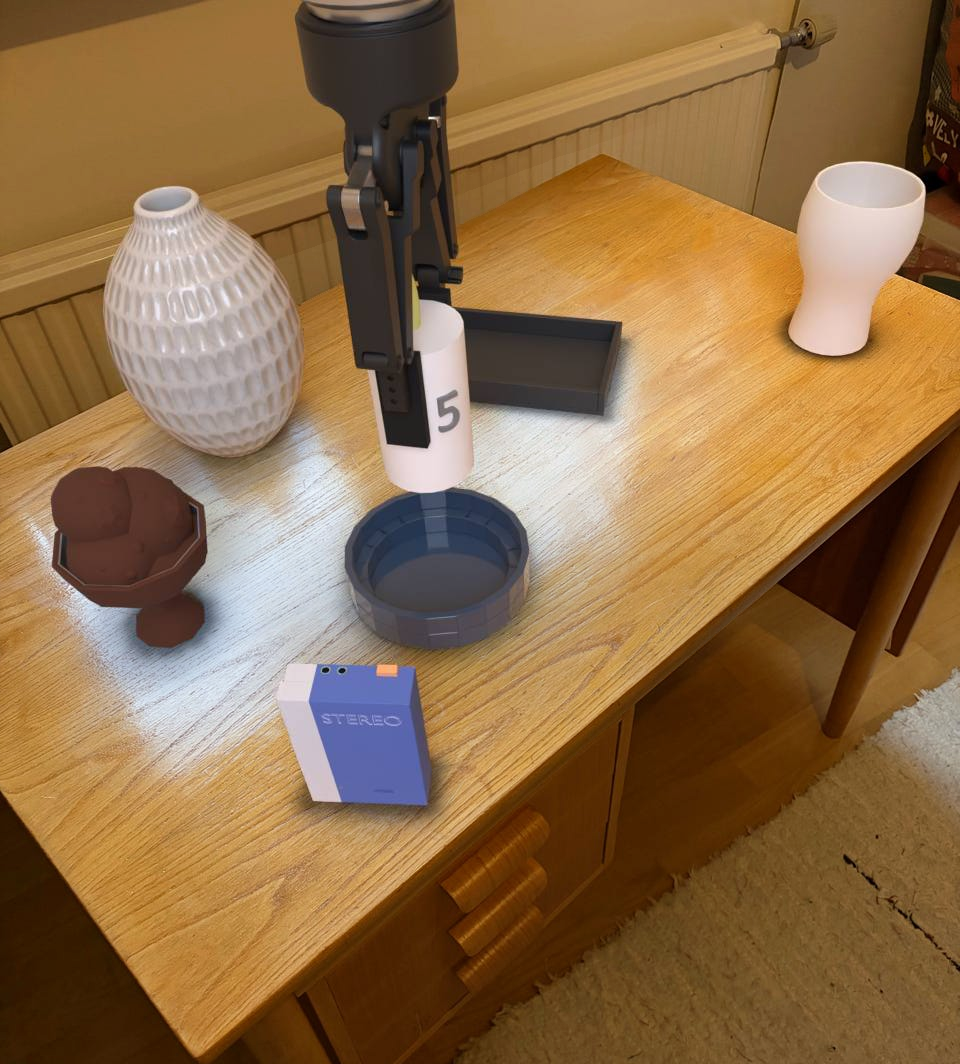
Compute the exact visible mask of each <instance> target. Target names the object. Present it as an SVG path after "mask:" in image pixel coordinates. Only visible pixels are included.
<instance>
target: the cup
mask: <svg viewBox="0 0 960 1064" xmlns="http://www.w3.org/2000/svg"><path fill="white" fill-rule="evenodd" d="M926 193H927V191H926V186H925V184H924V182H923V181H922V179H921V178H920V177H918V176H917V175H916V174H914V173H913V172H911V171H909V170H906V169H904V168H903V167H899V166H896V165H892V164H890V163H889V164H888V163H883V162H877V161H846V162H842V163H836V164H833V165H831V166H828V167H825V168H824V169H823V170H821V171H819V172H818V173H817V175H816V176H815V177H814V180H813V182H812V183H811V186H810V187H809V190H808V192H807V194H806V196H805V198H804V201H803V202H802V204H801V209H800V213H799V218H798V222H797V228H796V242H797V256H798V260H799V263H800V266H801V270H802V274H803V279H802V280H803V283H802V290H801V297H800V300H799V301H798V303H797V306H796V308H795V311H794V313H793V314H792V317H791V320H790V323H789V325H788V329H787V330H788V332H787V333H788V336H789V338H790V340H792V342H793V343H794V345H797V346H798V347H800V348H801V349H803V350H805V351H808V352H810V353H814V354H817V355H818V354H819V355H822V356H832V357H833V356H836V357H837V356H845V355H850V354H853V353H855V352H858V351H860V350H861V349H862V348H864V347H865V346H866V343H867V342H868V338H869V332H870V327H871V318H872V309H873V306H874V304H875V303H876V302H875V301H876V300H877V298H878V295H879V294H880V291H881V289H882V288H883V287H884V285H885V284H886V283H887V282H888V281H890V279H891V278H892V277H894V275H895V274H896V273H897V272H898V271H899V270H900V269H901V267H902V265H903V264H904V262H905V261H906V259H907V258H908V257H909V255H910V253H911V252H912V250H913V249H914V248H915V247H914V246H915V245H916V243H917V240H918V237H919V235H920V231H921V228H922V225H923V223H924V214H925V206H926V205H925V204H926Z"/></svg>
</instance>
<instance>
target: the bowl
mask: <svg viewBox="0 0 960 1064" xmlns="http://www.w3.org/2000/svg"><path fill="white" fill-rule="evenodd" d="M530 551H531V549H530V544H529V538H528V532H527V530H526V528H525V526H524V525H523V522H521V520H520V519H519V517H518V516H517V514H516V513H515V511H513V510H512V509H510V508H509V507H508V506H507V505H505V504H504V503H502V501H500V500H499V499H498V498H496V497H493V496H489V495H487V494H485V493H481V492H480V491H476V490H474V489H469V488H461V487H455V486H453V487H451V488H449V489H446V490H443V491H438V492H433V493H418V492H411V491H407V492H404V493H400V494H398V495H394V496H391V497H390V498H388V499H387V500H385V501H383V502H381V503H380V504H378V505H376V506H375V507H373V508H371V509H370V510H369V511H368V512H367V513H366V514H365V515H363V517H362V518H361V519H360V520H359V521H358V522H357V523H356V524H355V525H354V526H353V528H352V530H351V533H350V535H349V537H348V539H347V541H346V543H345V546H344V560H343V561H344V564H343V565H344V566H343V567H344V571H345V576H346V581H347V584H348V588H349V589H348V590H349V593H350V597H351V600H352V603H353V605H354V607H355V610H356V612H357V614H358V616H359V618H360V619H361V620H362V621H363V622H364V623H365V624H366V625H367V626H368V627H370V629H372V631H374V632H375V633H376V634H377V635H378V636H379V637H380V636H381V637H383V638H384V639H387V640H389V641H391V642H393V643H396V644H398V645H400V646H403V647H409V648H416V649H422V650H428V651H429V650H431V651H433V650H444V649H453V648H462V647H466V646H468V645H470V644H471V645H472V644H473V643H476V642H479V641H482V640H484V639H488V638H489V637H490V636H492V635H493V634H495V633H496V632H498V631H499V630H501V629H502V628H503V627H505V626H506V625H508V624H509V623H510V622H511V621H512V620H513V618H514V617H515V616H516V614H517V613H518V612H519V610H520V609H521V608H522V606H523V605H524V604H525V601H526V598H527V594H528V590H529V586H530V583H531V582H530V581H531V574H530V573H531V558H530V557H531V555H530V554H531V553H530Z"/></svg>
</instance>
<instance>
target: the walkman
mask: <svg viewBox="0 0 960 1064" xmlns="http://www.w3.org/2000/svg"><path fill="white" fill-rule="evenodd" d="M417 676H418V675H417V671H416V667H415V666H399V665H398V664H377V665H364V664H363V665H362V664H361V665H360V664H329V663H292V662H291V663H287V667H286V670H285V674H284V679H283V680H280V681H279V684H278V687H277V688H278V689H277V692H276V696H275V701H276V703H277V706H278V709H279V712H280V714H281V717H282V720H283V723H284V725H285V728H286V730H287V733H288V739H289V741H290V743H291V746H292V749H293V751H294V754H295V756H296V759H297V763H298V764H299V768H300V769H301V770H300V771H301V772H302V775H303V778H304V780H305V783H306V786H307V788H308V791H309V794H310V796H311V799H312V801H313V802H325V803H326V802H327V803H328V802H330V803H357V804H359V803H360V804H380V805H383V804H384V805H408V806H428V805H429V799H430V798H429V797H430V789H431V782H432V781H431V780H432V774H433V768H432V763H431V757H430V750H429V744H428V738H427V731H426V725H425V719H424V713H423V707H422V701H421V696H420V690H419V689H420V688H419V683H418V677H417Z"/></svg>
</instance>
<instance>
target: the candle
mask: <svg viewBox="0 0 960 1064" xmlns="http://www.w3.org/2000/svg"><path fill="white" fill-rule="evenodd" d="M416 286H417V284H416V281H415V280H414V277H413V275H412V306H413V350H414V351H420V354H421V363H422V371H423V380H424V388H425V397H426V405H427V413H428V422H429V430H430V439H431V442H430V444H429V447H428V449H425V448H416V447H407V446H398V445H389V444H387V442H386V436H385V430H384V424H383V418H382V412H381V406H380V400H379V394H378V388H377V382H376V376H375V370H366V372H367V378H368V379H367V380H368V383H369V390H370V395H371V401H372V406H373V407H372V408H373V411H374V412H373V413H374V418H375V424H376V429H377V435H378V441H379V446H380V451H381V457H382V463H383V469H384V473H385V475H386V477H387V478H388V480H389V481H390V482H391V483H392V484H393V485H395V486H396V487H398V488H399V489H402V490H405V491H407V492H410V491H411V492H418V493H433V492H438V491H443V490H446V489H449V488H451V487H456V486H457V485H459V484H461V483H462V482H463V481H464V480H466V479H467V477H468V476H469V475H470V474H471V472H472V470H473V468H474V465H475V454H474V453H475V451H474V440H473V439H474V438H473V426H472V425H473V424H472V415H471V413H472V412H471V401H470V399H469V386H468V373H467V361H466V348H465V335H464V322H463V319H462V317H461V315H460V314H459V313H458V312H457V311H456V310H455V309H454V308H452V307H453V306H452V307H450V306H448V305H446V304H444V303H440V302H437V301H431V300H419V297H418V292H417V288H416Z"/></svg>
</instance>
